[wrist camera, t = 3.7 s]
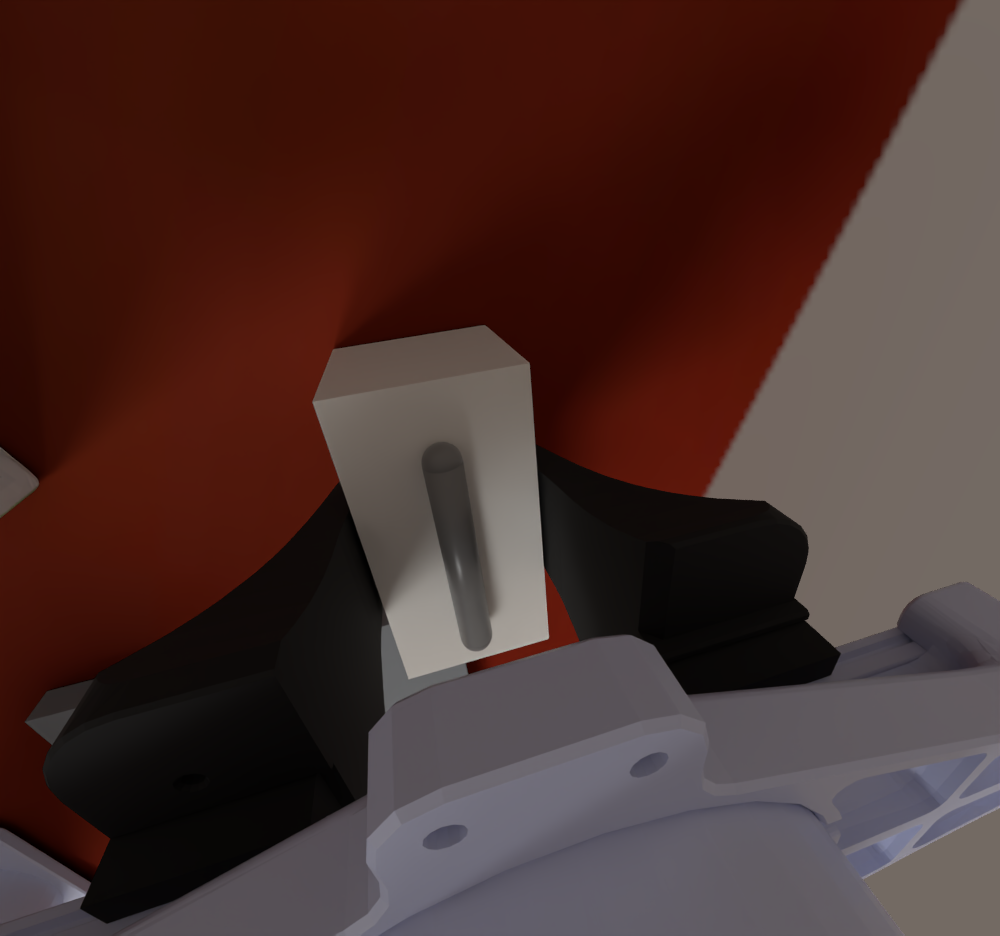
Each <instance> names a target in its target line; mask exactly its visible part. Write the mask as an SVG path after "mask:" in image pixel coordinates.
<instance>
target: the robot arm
mask: <svg viewBox="0 0 1000 936" xmlns="http://www.w3.org/2000/svg"><path fill="white" fill-rule="evenodd" d="M535 447H536V461H537V476H538V490H539V504H540V519H541V533H542V548H543V562H544V567H545V569H546V571H547V573H548V574H549V576H550V578H551V580H552V581H553V583H554V585H555V587H556V589H557V590H558V592H559V594H560V596H561V598H562V600H563V603H564V605H565V607H566V610H567V612H568V614H569V617H570V619H571V621H572V624H573V626H574V628H575V631H576V633H577V636H578V638H579V641H580V642H577V643H573V644H570V645H566V646H563V647H560V648H556V649H553V650H550V651H546V652H543V653H539V654H536V655H533V656H529V657H526V658H522V659H519V660H516V661H512V662H509V663H505V664H502V665H499V666H495V667H492V668H488V669H485V670H482V671H478V672H475V673H472V674H468V675H465V676H461V677H458V678H455V679H451V680H448V681H444V682H441V683H438V684H434V685H431V686H429V687H427V688H425V689H422V690H420V691H418V692H416V693H414V694H412V695H410V696H408V697H406V698H404V699H402V700H400V701H398V702H396V703H395V704H394V705H393V706H392V707H391V708H390V709H389V710H388V711H387V712H386V713H385V704H384V691H383V674H382V657H381V631H382V612H383V604H382V601H381V598H380V595H379V592H378V589H377V587H376V584H375V581H374V578H373V575H372V572H371V569H370V566H369V564H368V561H367V558H366V555H365V552H364V549H363V546H362V543H361V540H360V538H359V535H358V532H357V529H356V526H355V523H354V520H353V517H352V515H351V512H350V509H349V506H348V503H347V500H346V497H345V494H344V491H343V489H342V486H341V483H340V482H339V483H338V484H337V485H336V487H335V488H334V489H333V490H332V492H331V493H330V494H329V495H328V497H327V498H326V499H325V501H324V502H323V503H322V504H321V506H320V507H319V508H318V509H317V510H316V512H315V513H314V514H313V515H312V517H311V518H310V519H309V520H308V521H307V522H306V524H305V525H304V526H303V527H302V528H301V529H300V530H299V531H298V532H297V533H296V534H295V536H294V537H293V538H292V539H291V540H290V541H289V542H288V543H287V544H286V545H285V546H284V547H283V548H282V549H281V550H280V551H279V552H278V553H277V554H276V555H275V556H274V557H273V558H272V559H271V560H269V561H268V562H267V563H266V564H265V565H264V566H263V567H262V568H260V569H259V570H258V571H257V572H256V573H255V574H253V575H252V576H251V577H250V578H248V579H247V580H246V581H244V582H243V583H242V584H240V585H239V586H238V587H237V588H235V589H234V590H233V591H231V592H230V593H229V594H227V595H226V596H225V597H223V598H222V599H221V600H219V601H218V602H217V603H215V604H214V605H212V606H211V607H209V608H208V609H206V610H205V611H203V612H202V613H200V614H199V615H198V616H196V617H194V618H193V619H191V620H190V621H188V622H187V623H185V624H183V625H182V626H180V627H179V628H177V629H175V630H174V631H172V632H171V633H169V634H167V635H166V636H164V637H162V638H161V639H159V640H157V641H155V642H154V643H152V644H150V645H148V646H146V647H145V648H143V649H141V650H139V651H137V652H136V653H134V654H132V655H130V656H128V657H127V658H125V659H123V660H121V661H119V662H118V663H116V664H114V665H112V666H110V667H108V668H106V669H105V670H103V671H101V672H99V673H98V674H97V676H96V677H95V679H94V680H93V682H92V684H91V685H90V687H89V688H88V690H87V691H86V693H85V694H84V696H83V698H82V699H81V701H80V702H79V704H78V705H77V707H76V709H75V710H74V712H73V713H72V715H71V716H70V718H69V720H68V721H67V723H66V724H65V726H64V727H63V729H62V731H61V732H60V734H59V735H58V737H57V738H56V740H55V742H54V743H53V745H52V746H51V748H50V749H49V751H48V753H47V755H46V759H45V762H44V765H43V769H42V770H43V774H44V777H45V781H46V785H47V786H48V788H49V789H50V790H51V791H52V792H53V794H54V795H55V796H56V797H57V798H58V799H59V800H60V801H61V802H62V803H63V804H65V805H66V806H67V807H69V808H70V809H71V810H73V811H74V812H75V813H77V814H78V815H79V816H81V817H82V818H83V819H85V820H86V821H87V822H89V823H90V824H91V825H93V826H94V827H95V828H97V829H98V830H99V831H101V832H102V833H103V834H105V835H106V836H108V837H109V838H110V841H109V843H108V846H107V848H106V850H105V853H104V855H103V857H102V859H101V862H100V864H99V866H98V868H97V871H96V873H95V875H94V877H93V880H92V882H89V881H88V880H86V879H84V878H83V877H81V876H80V875H78V874H77V873H75V872H73V871H72V870H70V869H69V868H67V867H65V866H64V865H62V864H61V863H59V862H57V861H56V860H54V859H53V858H51V857H50V856H48V855H46V854H45V853H43V852H42V851H40V850H38V849H37V848H35V847H34V846H32V845H30V844H29V843H27V842H26V841H24V840H23V839H21V838H19V837H18V836H16V835H15V834H13V833H11V832H10V831H8V830H6V829H4V828H0V936H905V935H904V933H903V932H902V931H901V929H900V928H899V927H898V925H897V924H896V923H895V921H894V920H893V919H892V917H891V916H890V915H889V914H888V912H887V911H886V909H885V908H884V907H883V905H882V904H881V903H880V902H879V900H878V899H877V897H876V896H875V895H874V894H873V892H872V891H871V889H870V888H869V887H868V886H867V884H866V883H865V881H864V880H863V879H864V878H866V877H868V876H870V875H872V874H874V873H876V872H877V871H879V870H881V869H883V868H885V867H887V866H889V865H890V864H893V863H894V862H896V861H898V860H900V859H902V858H904V857H906V856H907V855H910V854H911V853H913V852H915V851H917V850H919V849H921V848H923V847H925V846H926V845H928V844H930V843H932V842H934V841H936V840H938V839H940V838H942V837H943V836H945V835H947V834H949V833H951V832H953V831H955V830H957V829H959V828H961V827H963V826H965V825H967V824H969V823H971V822H973V821H975V820H976V819H978V818H980V817H982V816H984V815H986V814H988V813H990V812H992V811H995V810H997V809H999V808H1000V601H999V600H997V599H996V598H994V597H992V596H990V595H989V594H987V593H985V592H984V591H982V590H980V589H979V588H977V587H975V586H974V585H972V584H970V583H968V582H959V583H956V584H953V585H950V586H947V587H944V588H940V589H937V590H934V591H931V592H928V593H925V594H922V595H920V596H918V597H916V598H915V599H913V600H912V601H911V602H910V603H909V604H908V605H907V606H906V607H905V608H904V610H903V612H902V613H901V615H900V617H899V620H898V622H897V627H896V628H893V629H890V630H887V631H884V632H881V633H878V634H874V635H871V636H868V637H866V638H863V639H860V640H857V641H853V642H850V643H847V644H844V645H841V646H838V647H835V648H834V647H833V646H832V645H831V644H830V643H829V642H828V641H827V640H826V639H824V638H823V637H822V636H821V635H820V634H819V633H818V632H817V631H816V630H815V629H813V628H812V627H811V626H810V625H809V624H808V623H807V622H806V621H805V620H807V619H808V617H809V612H808V610H807V609H806V608H805V607H804V606H803V605H802V604H800V603H799V602H798V601H797V600H796V599H795V598H794V597H795V594H796V591H797V588H798V585H799V582H800V579H801V576H802V573H803V571H804V568H805V564H806V561H807V556H808V549H809V547H808V540H807V535H806V533H805V532H804V530H803V529H802V527H801V526H800V525H798V524H797V523H796V522H794V521H793V520H791V519H790V518H789V517H787V516H786V515H784V514H783V513H781V512H780V511H778V510H777V509H776V508H774V507H773V506H771V505H770V504H768V503H767V502H766V501H754V500H735V499H716V498H707V497H698V496H690V495H683V494H676V493H670V492H665V491H660V490H655V489H650V488H646V487H641V486H637V485H633V484H630V483H627V482H623V481H620V480H617V479H613V478H610V477H607V476H604V475H602V474H599V473H597V472H594V471H592V470H589V469H586V468H584V467H582V466H579V465H577V464H575V463H573V462H571V461H568V460H566V459H564V458H562V457H560V456H558V455H556V454H554V453H552V452H550V451H548V450H546V449H544V448H542V447H540V446H538V445H536V444H535Z"/></svg>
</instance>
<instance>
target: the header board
mask: <svg viewBox="0 0 1000 936" xmlns="http://www.w3.org/2000/svg"><path fill="white" fill-rule="evenodd" d="M381 657H382V674H383V691H384V704H385V713H386V712H387V711H388V710H389V709H390V708H391V707H392V706H393V705H394V704H395V703H396V702H398V701H400V700H402V699H404V698H406V697H408V696H410V695H412V694H414V693H416V692H418V691H420V690H422V689H425V688H427V687H429V686H431V685H434V684H438V683H441V682H444V681H448V680H451V679H455V678H458V677H461V676H465V675H468V670H467V665H466V663H464V664H460V665H457V666H453V667H450V668H446V669H443V670H439V671H436V672H433V673H429V674H426V675H422V676H419V677H415V678H412V679H408V676H407V673H406V670H405V667H404V664H403V662H402V659H401V656H400V653H399V650H398V647H397V644H396V641H395V638H394V636H393V633H392V630H391V627H390V624H389V621H388V618H387V615H386V613H385V610H384V607H383V612H382V631H381ZM93 680H94V679H93ZM93 680H89V681H85V682H81V683H77V684H73V685H69V686H66V687H62V688H58V689H54V690H50V691H47V692H46V693H45V695H44V696H43V697H42V699H41V700H40V702H39V703H38V704H37V706H36V707H35V708H34V710H33V711H32V713H31V714H30V715H29V717H28V718H27V719H26V721H25V723H26V724H28V725H29V726H30V727H31V728H32V729H34V730H35V731H36V732H37V733H38V734H40V735H41V736H42V737H43V738H44V739H45V740H47V741H48V742H49V743H50V744H51V745H53V743H54V742H55V740H56V738H57V737H58V735H59V734H60V732H61V731H62V729H63V727H64V726H65V724H66V723H67V721H68V720H69V718H70V716H71V715H72V713H73V712H74V710H75V709H76V707H77V705H78V704H79V702H80V701H81V699H82V698H83V696H84V694H85V693H86V691H87V690H88V688H89V687H90V685H91V684H92V682H93Z"/></svg>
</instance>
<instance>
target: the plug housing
mask: <svg viewBox="0 0 1000 936" xmlns="http://www.w3.org/2000/svg"><path fill="white" fill-rule="evenodd" d="M313 405H314V408H315V411H316V414H317V416H318V419H319V422H320V425H321V428H322V431H323V434H324V437H325V440H326V442H327V445H328V448H329V451H330V454H331V457H332V460H333V463H334V465H335V468H336V471H337V474H338V477H339V480H340V483H341V486H342V489H343V491H344V494H345V497H346V500H347V503H348V506H349V509H350V512H351V515H352V517H353V520H354V523H355V526H356V529H357V532H358V535H359V538H360V540H361V543H362V546H363V549H364V552H365V555H366V558H367V561H368V564H369V566H370V569H371V572H372V575H373V578H374V581H375V584H376V587H377V589H378V592H379V595H380V598H381V601H382V604H383V607H384V610H385V613H386V615H387V618H388V621H389V624H390V627H391V630H392V633H393V636H394V638H395V641H396V644H397V647H398V650H399V653H400V656H401V659H402V662H403V664H404V667H405V670H406V673H407V676H408V679H412V678H415V677H419V676H422V675H426V674H429V673H433V672H436V671H439V670H443V669H446V668H450V667H453V666H457V665H460V664H464V663H467V662H470V661H474V660H477V659H481V658H484V657H488V656H491V655H495V654H498V653H501V652H505V651H508V650H512V649H515V648H519V647H522V646H526V645H529V644H533V643H536V642H539V641H543V640H546V639H549V634H548V619H547V605H546V591H545V576H544V562H543V548H542V533H541V519H540V504H539V490H538V476H537V461H536V447H535V432H534V418H533V404H532V389H531V375H530V363H529V362H528V361H527V360H526V359H524V358H523V357H522V356H521V355H520V354H518V353H517V352H516V351H515V350H514V349H513V348H511V347H510V346H509V345H508V344H507V343H506V342H504V341H503V340H502V339H501V338H500V337H499V336H497V335H496V334H495V333H494V332H493V331H491V330H490V329H489V328H488V327H487V326H486V325H481V326H475V327H469V328H463V329H457V330H450V331H444V332H438V333H432V334H425V335H419V336H413V337H407V338H401V339H394V340H388V341H382V342H376V343H369V344H363V345H357V346H351V347H345V348H338V349H333V351H332V353H331V356H330V358H329V361H328V364H327V366H326V369H325V371H324V374H323V376H322V379H321V381H320V384H319V386H318V389H317V392H316V394H315V397H314V399H313Z"/></svg>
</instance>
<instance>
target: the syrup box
mask: <svg viewBox="0 0 1000 936" xmlns="http://www.w3.org/2000/svg"><path fill="white" fill-rule="evenodd" d="M38 485H39V481H38V479H37V478H36V477H35V476H34V475H33V474H32V473H31V472H30V471H29V470H28V469H26V468H25V467H24V466H23V465H22V464H20V463H19V462H18V461H16V460H15V459H14V458H13V457H12V456H10V455H9V454H8V453H7V452H6V451H5V450H3V449H2V448H1V447H0V518H1V517H2V516H4V515H5V514H6V513H7V512H9V511H10V510H11V509H12V508H14V507H15V506H16V505H17V504H19V503H20V502H21V501H22V500H24V499H25V498H26V497H27V496H29V495H30V494H31V493H33V492H34V491H35V490H36V488H37V487H38Z"/></svg>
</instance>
